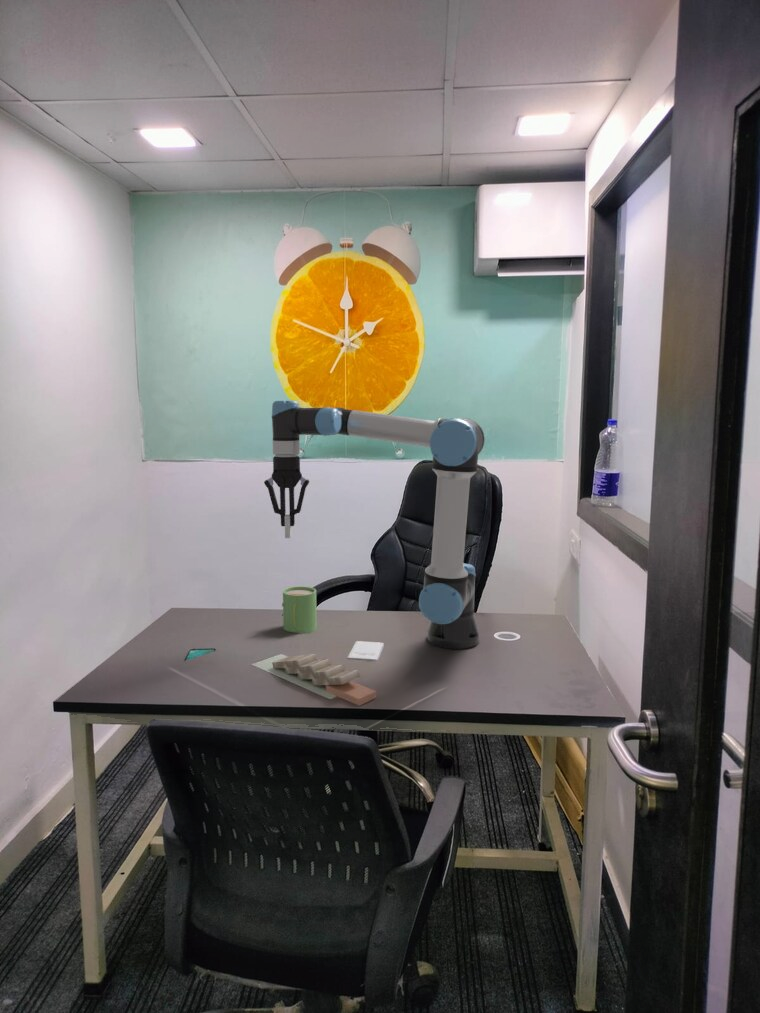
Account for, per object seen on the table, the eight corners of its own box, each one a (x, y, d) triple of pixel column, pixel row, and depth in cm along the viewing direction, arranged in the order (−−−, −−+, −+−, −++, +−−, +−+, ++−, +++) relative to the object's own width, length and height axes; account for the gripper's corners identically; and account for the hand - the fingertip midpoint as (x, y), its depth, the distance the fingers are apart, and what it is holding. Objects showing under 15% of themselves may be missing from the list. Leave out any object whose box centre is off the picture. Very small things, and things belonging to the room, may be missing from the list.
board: (251, 666, 169) (251, 664, 169) (281, 655, 176) (281, 653, 176) (330, 701, 149) (330, 699, 149) (360, 688, 156) (360, 685, 156)
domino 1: (272, 662, 166) (298, 660, 159) (288, 656, 170) (315, 654, 163) (273, 668, 166) (299, 666, 158) (290, 662, 170) (316, 660, 163)
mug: (287, 622, 204) (287, 585, 202) (319, 624, 202) (319, 587, 200) (275, 636, 191) (275, 597, 189) (310, 638, 190) (309, 598, 188)
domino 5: (325, 684, 153) (359, 699, 145) (342, 677, 157) (376, 691, 149) (325, 691, 153) (359, 705, 145) (342, 684, 157) (375, 697, 150)
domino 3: (297, 673, 159) (326, 671, 152) (314, 666, 163) (343, 664, 156) (299, 679, 159) (327, 678, 152) (316, 673, 163) (344, 671, 156)
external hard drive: (383, 648, 184) (376, 664, 172) (355, 646, 185) (346, 662, 173) (383, 642, 184) (377, 659, 172) (355, 640, 185) (346, 656, 173)
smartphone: (178, 670, 165) (190, 648, 180) (178, 673, 165) (190, 651, 180) (206, 669, 166) (216, 648, 180) (207, 672, 166) (216, 650, 181)
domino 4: (311, 679, 156) (341, 677, 148) (328, 672, 160) (358, 670, 153) (313, 685, 156) (343, 684, 148) (329, 678, 160) (360, 676, 152)
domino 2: (284, 667, 163) (312, 665, 155) (301, 661, 167) (329, 659, 159) (286, 674, 163) (313, 672, 155) (302, 667, 167) (330, 665, 159)
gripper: (310, 454, 187) (311, 534, 190) (264, 454, 186) (267, 535, 190) (308, 456, 179) (310, 539, 183) (261, 456, 179) (263, 540, 182)
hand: (288, 537), depth 186 cm, fingers closed
